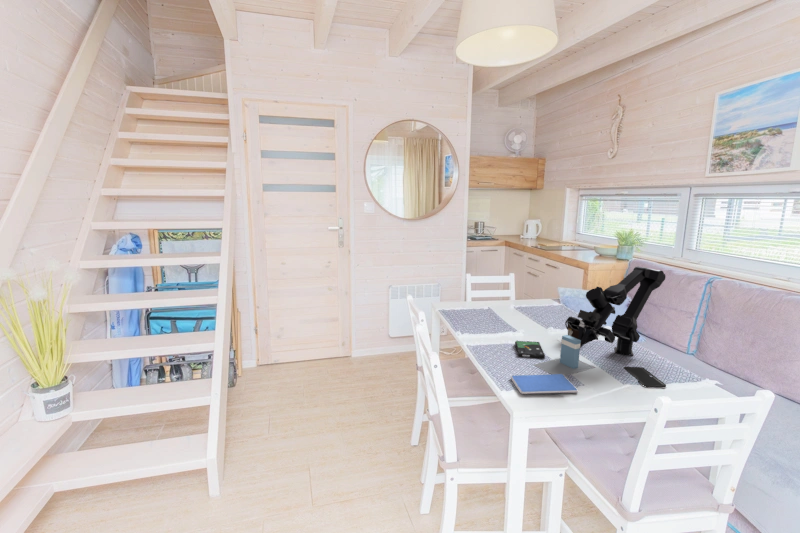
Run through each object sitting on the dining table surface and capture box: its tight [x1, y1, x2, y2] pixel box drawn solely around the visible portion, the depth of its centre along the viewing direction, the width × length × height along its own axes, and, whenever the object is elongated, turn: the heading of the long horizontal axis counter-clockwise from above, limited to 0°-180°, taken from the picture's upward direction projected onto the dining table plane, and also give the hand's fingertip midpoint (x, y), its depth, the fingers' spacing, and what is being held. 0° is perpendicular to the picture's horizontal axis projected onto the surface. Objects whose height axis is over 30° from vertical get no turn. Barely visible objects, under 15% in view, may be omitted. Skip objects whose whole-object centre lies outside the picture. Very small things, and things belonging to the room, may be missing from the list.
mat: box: [533, 357, 596, 377], centre depth 151 cm, size 20×12×1 cm, turn 116°
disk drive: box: [514, 340, 546, 360], centre depth 166 cm, size 10×3×15 cm
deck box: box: [559, 334, 581, 369], centre depth 151 cm, size 3×6×11 cm, turn 26°
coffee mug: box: [564, 318, 587, 339], centre depth 177 cm, size 12×9×10 cm
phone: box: [623, 366, 667, 388], centre depth 143 cm, size 8×1×15 cm
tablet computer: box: [510, 373, 579, 395], centre depth 136 cm, size 19×13×1 cm, turn 91°
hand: (577, 345), depth 153 cm, fingers closed
